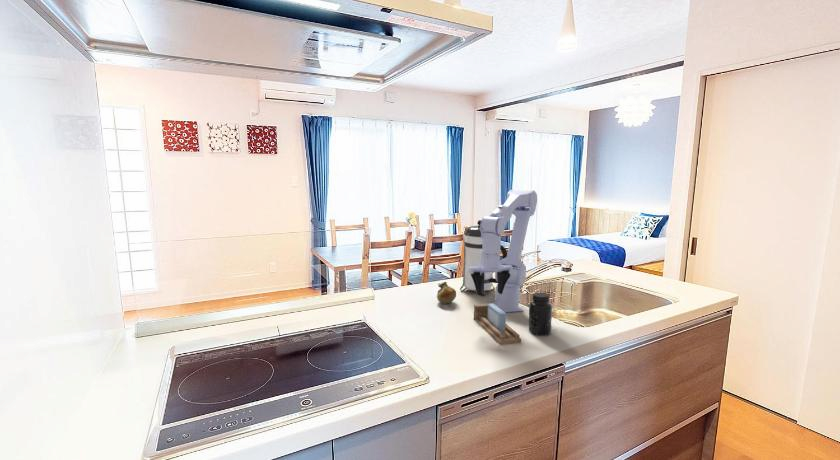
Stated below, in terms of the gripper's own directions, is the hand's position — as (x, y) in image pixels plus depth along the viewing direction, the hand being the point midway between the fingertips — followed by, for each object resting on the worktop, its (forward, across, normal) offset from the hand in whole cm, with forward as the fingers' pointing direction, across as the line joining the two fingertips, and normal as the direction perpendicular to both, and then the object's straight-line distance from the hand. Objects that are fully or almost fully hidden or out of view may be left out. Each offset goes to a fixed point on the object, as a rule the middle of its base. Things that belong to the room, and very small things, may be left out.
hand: (489, 293), depth 126 cm
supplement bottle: (+10, +13, -10) cm, 19 cm away
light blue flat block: (+9, 0, -6) cm, 11 cm away
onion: (+10, -8, +21) cm, 25 cm away
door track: (+10, 0, -6) cm, 12 cm away
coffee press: (+10, +11, +33) cm, 36 cm away
